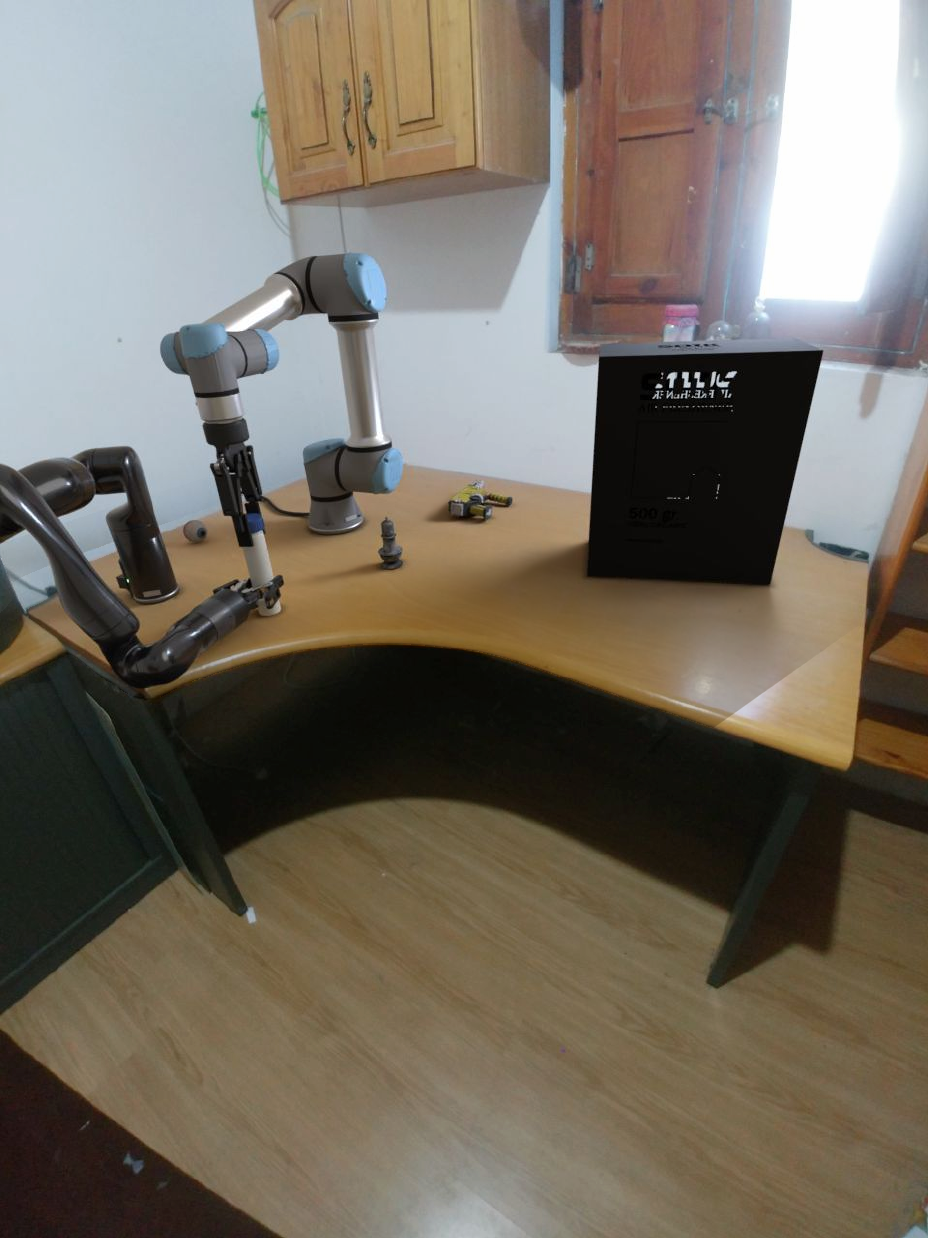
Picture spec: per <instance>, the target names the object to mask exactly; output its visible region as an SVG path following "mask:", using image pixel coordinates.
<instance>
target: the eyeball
mask: <svg viewBox="0 0 928 1238" xmlns="http://www.w3.org/2000/svg"><path fill="white" fill-rule="evenodd" d="M182 534H183V537H185V539H186V540H187V541H188V542H191V543H195V544H196V543H197V544H198V543H201V542H203V541H204V540H205V539H206V538H207V536H208V527H207V525H206V524H205V523H203V522H202V521H200V520H197V519H193V520H189V521H187V522H186V523H185V524H184V525H183V528H182Z"/></svg>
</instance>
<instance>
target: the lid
mask: <svg viewBox="0 0 928 1238" xmlns="http://www.w3.org/2000/svg"><path fill="white" fill-rule="evenodd" d="M247 518H248V522H249V526H250V530H251V534H253V533H256V532H259V531H261V530H263V529H264V528H266V527H265V522H264V518H263V514H262V513H261V514H257V513H249V514H247Z"/></svg>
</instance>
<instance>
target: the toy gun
mask: <svg viewBox="0 0 928 1238" xmlns="http://www.w3.org/2000/svg"><path fill="white" fill-rule="evenodd" d="M485 485H486V483H485V480H480V481H479V479H475V480H474V481H472V483H470V484H467V486H465V487H464V488H463V489H462V490H461V491H459V492H458V493H456V494H455V495H454V496H453V497H452V498H451V499H450V500H448V502H447V513H448V514H449V515H451V516H452V517H456V518H458V517H467V516H472V515H473V516H479V517H482V520H484V521H486V520H487V519H489V518H491V517H492V516H493V515H492V514H493V505H492V504H488V505H486V503H485V502H486V501H488V500H489V501H490V502H494V503H496V502H497V503H499V504H504V505H507V506H508V507H509V506H512V505H513V502H514V501H513V500H514V498H513V497H512V496H508V495H507V496H506V495H502V494H498V493H494V492H490V493H489V494H487V492H486V490H485V488H483V487H484V486H485Z"/></svg>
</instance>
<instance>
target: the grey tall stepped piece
mask: <svg viewBox="0 0 928 1238" xmlns="http://www.w3.org/2000/svg"><path fill="white" fill-rule="evenodd" d="M380 527H381V535H380V538H382V546H381V547H380V548H379V549H378V550H377V554H379V557H380V559H381V560H383V561H382V562H381V563H380V566H381V568H383V569H387V570H391V569H397V568H400V567H402V566H403V565H404V561H403V560H402V559H401V557H402V555H403V551H404V549H403V547H402V546H400V545H398V544H397V541H396V540H397V539H396V536H397V533H396V532H395V525H394V521H393V520H391V519H389V517H388V516H385V517H384V520H382V521H381V523H380Z"/></svg>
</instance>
